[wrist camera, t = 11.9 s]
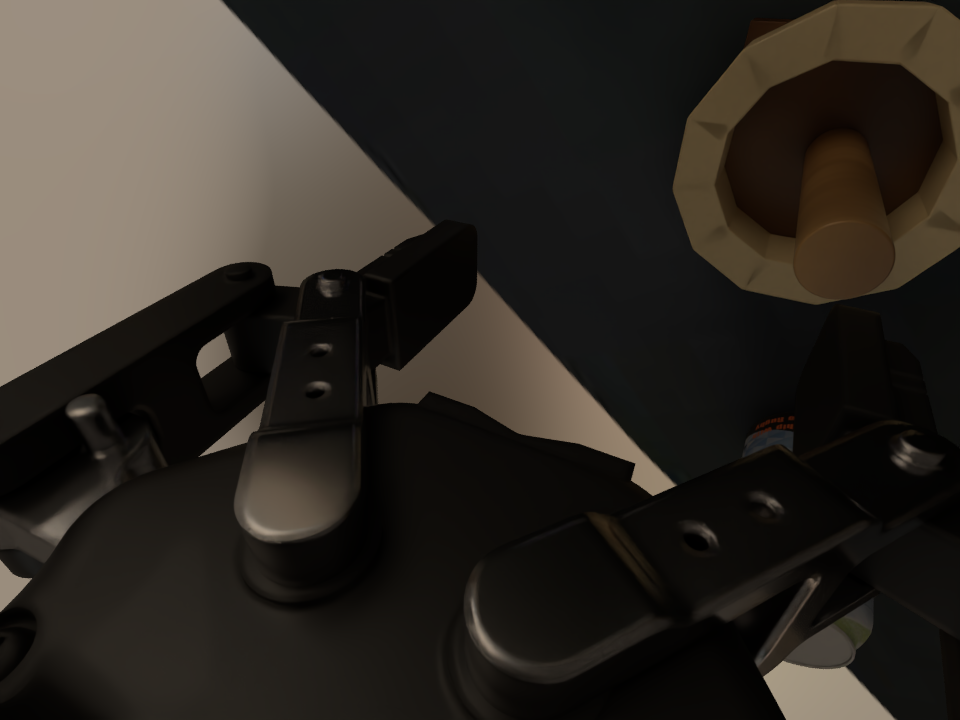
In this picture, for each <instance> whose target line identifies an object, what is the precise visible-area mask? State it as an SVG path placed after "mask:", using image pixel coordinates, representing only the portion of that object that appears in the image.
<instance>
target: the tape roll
mask: <svg viewBox="0 0 960 720" xmlns="http://www.w3.org/2000/svg"><path fill="white" fill-rule="evenodd" d="M833 60H834V61H851V62H867V63H884V64H900V65H901V66H903V67H904V68H905V69H907V70H908V71H909V72H910V73H912V74H913V75H914V76H915V77H917V78H918V79H919V80H920V81H922V82H923V83H924V84H925V85H927V86H928V87H929V88H930V89H932V90H933V91H934V92H935V94H936V100H937V106H938V112H939V118H940V124H941V130H942V136H943V142H942V144H941V146H940V148H939V150H938V152H937V154H936V156H935V158H934V160H933V162H932V164H931V166H930V168H929V170H928V172H927V174H926V177H925V179H924V181H923V183H922V185H921V187H920V189H919V191H918V192H917V193H916V194H915V195H913V196H912V197H911V198H910V199H908V200H907V201H906V202H904V203H903V204H902V205H900V206H899V207H898V208H897V209H895V210H894V211H893V212H891V213H890V214H889V215H887V220H888V224H889V228H890V231H891V235H892V239H893V243H894V247H895V254H896V255H895V263H894V266H893V268H892V271H891V272H890V274H889V276H888V277H887V278H886V279H885V281H883V282H882V283H881V284H880V285H879V286H878V287H876V288H875V289H873V290H872V291H870V292H868V293H866V294H864V295H868V294H873V293H878V292H883V291H888V290H893V289H897V288H899V287H901V286H902V285H904V284H905V283H907V282H908V281H910V280H911V279H913V278H914V277H916V276H917V275H919V274H920V273H922V272H923V271H925V270H926V269H928V268H929V267H931V266H932V265H934V264H935V263H937V262H938V261H940V260H941V259H943V258H944V257H946V256H947V255H949V254H950V253H952V252H953V251H955V250H956V249H958V248H959V247H960V20H959V19H958V18H957V17H955V16H954V15H953V14H951V13H950V12H949V11H948V10H946V9H945V8H944V7H942V6H939V5H935V4H932V3H928V2H914V1H871V0H837V1H832V2H830V3H828V4H826V5H824V6H822V7H820V8H818V9H816V10H814V11H812V12H810V13H807V14H805V15H803V16H801V17H799V18H797V19H795V20H793V21H791V22H789V23H787V24H785V25H783V26H781V27H779V28H777V29H775V30H773V31H771V32H769V33H767V34H765V35H763V36H761V37H759V38H757V39H755V40H753V41H752V42H751V43H750V44H749V45H747V46H746V47H745V48H744V49H743V50H742V51H741V53H740V54H739V55H738V56H737V58H736V59H735V60H734V61H733V63H732V64H731V65H730V66H729V67H728V69H727V70H726V71H725V72H724V74H723V75H722V76H721V77H720V78H719V80H718V81H717V82H716V83H715V85H714V86H713V87H712V88H711V89H710V91H709V92H708V93H707V94H706V96H705V97H704V98H703V99H702V101H701V102H700V103H699V104H698V105H697V107H696V108H695V109H694V110H693V112H692V113H691V114H690V115H689V117H688V119H687V123H686V127H685V132H684V136H683V141H682V146H681V150H680V155H679V160H678V164H677V169H676V174H675V178H674V183H673V193H674V196H675V199H676V202H677V204H678V207H679V210H680V213H681V216H682V219H683V222H684V225H685V228H686V230H687V233H688V236H689V239H690V242H691V245H692V248H693V249H694V250H695V251H696V252H697V253H698V254H699V255H701V256H702V257H703V258H704V259H706V260H707V261H708V262H709V263H710V264H712V265H713V266H714V267H715V268H717V269H718V270H719V271H720V272H721V273H723V274H724V275H725V276H726V277H728V278H729V279H730V280H731V281H732V282H734V283H735V284H736V285H737V286H739V287H740V288H741V289H742V290H743V289H744V290H747V291H752V292H756V293H761V294H766V295H771V296H775V297H780V298H785V299H790V300H794V301H799V302H804V303H809V304H814V305H818V304H823V303H828V302H833V301H838V300H834V299H826V298H822V297H819V296H817V295H814V294H812V293H810V292H809V291H807V290H806V289H805V288H804V287H803V286H802V285H801V284H800V283H799V282H798V280H797V278H796V276H795V273H794V269H793V259H794V249H795V240H796V238H791V237H785V236H779V235H773V234H770V233H769V232H767V231H766V230H765V229H764V228H763V227H761V226H760V225H759V224H758V223H756V222H755V221H754V220H753V219H751V218H750V217H749V216H748V215H747V214H745V213H744V212H743V211H742V210H740V209H739V208H738V207H737V206H736V202H735V199H734V196H733V193H732V189H731V186H730V183H729V179H728V176H727V173H726V170H725V162H726V158H727V154H728V151H729V147H730V143H731V139H732V135H733V132H734V128H735V126H736V125H737V124H738V122H739V121H740V120H741V119H742V118H743V117H744V116H745V115H746V114H747V112H748V111H749V110H750V109H751V108H752V107H753V106H754V105H755V103H756V102H757V101H758V100H759V99H760V98H761V97H762V96H763V95H764V93H765V92H766V91H767V90H768V89H769V88H771V87H773V86H775V85H777V84H780V83H782V82H784V81H787V80H789V79H791V78H794V77H796V76H798V75H800V74H803V73H805V72H807V71H810V70H812V69H814V68H817V67H819V66H821V65H824V64H826V63H828V62H830V61H833ZM861 296H863V295H861Z"/></svg>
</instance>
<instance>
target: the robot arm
mask: <svg viewBox="0 0 960 720" xmlns="http://www.w3.org/2000/svg"><path fill="white" fill-rule="evenodd" d="M476 285H477V231H476V228H475V227H474V226H473V225H470V224H465V223H460V222H456V221H451V220H444V221H442V222H441V223H439V224H438V225H436V226H435V227H433V228H432V229H430V230H429V231H427V232H426V233H424V234H422V235H419V236H416V237H413V238H410V239H407V240H405V241H404V242H402V243H400V244H399V245H398V246H396V247H395V248H394V249H391V250H390V251H388V252H387V253H385V254H384V256H380V257H379V258H377V259H376V260H374V261H373V262H371V263H370V264H368V265H367V266H365V267H364V268H362V269H361V270H359V271H358V272H354V271H351V270H345V269H332V270H325V271H321V272H318V273H315V274H312V275H311V276H309V277H307V278H306V279H305V280H303V282H302V283H301V285H300V287H287V286H275V284H274V279H273V275H272V271H271V269H270V267H268V266H267V265H264V264H261V263H256V262H241V263H235V264H230V265H227V266H224V267H221V268H219V269H217V270H215V271H213V272H211V273H209V274H207V275H205V276H204V277H202V278H200V279H198V280H196V281H195V282H193V283H191V284H189V285H187V286H185V287H183V288H182V289H180V290H178V291H176V292H174V293H172V294H170V295H169V296H167V297H165V298H163V299H161V300H159V301H158V302H156V303H154V304H152V305H150V306H148V307H146V308H145V309H143V310H141V311H139V312H137V313H135V314H134V315H132V316H130V317H128V318H126V319H124V320H122V321H121V322H119V323H117V324H115V325H113V326H112V327H110V328H108V329H106V330H104V331H102V332H100V333H98V334H97V335H95V336H93V337H91V338H89V339H87V340H86V341H84V342H82V343H80V344H78V345H76V346H75V347H73V348H71V349H69V350H67V351H66V352H63V353H62V354H60V355H58V356H56V357H54V358H52V359H51V360H49V361H47V362H45V363H43V364H41V365H39V366H38V367H36V368H34V369H32V370H30V371H29V372H27V373H25V374H23V375H21V376H19V377H17V378H16V379H14V380H12V381H10V382H8V383H7V384H5V385H3V386H1V387H0V560H1V561H2V562H3V563H4V564H5V565H6V566H7V568H8V569H9V570H10V571H11V572H12V573H13V574H14V575H16V576H18V577H22V578H32V580H31V581H30V582H29V583H28V584H27V585H26V586H25V588H24V589H23V590H22V591H21V592H20V593H19V594H18V595H17V596H16V597H15V598H14V599H13V600H12V601H11V602H10V603H9V604H8V605H7V606H6V607H5V608H4V609H3V610H2V611H1V612H0V720H786V719H785V717H784V715H783V713H782V711H781V710H780V708H779V706H778V704H777V702H776V700H775V699H774V697H773V695H772V693H771V691H770V689H769V687H768V685H767V684H766V682H765V680H764V678H763V676H765V675H766V674H767V673H769V672H770V671H771V670H773V669H774V668H775V667H776V666H777V665H778V664H780V663H781V662H782V661H783V660H784V659H785V658H786V657H787V656H788V655H789V654H790V653H791V652H792V651H793V650H794V649H796V648H797V647H798V646H799V645H800V644H802V643H803V642H804V641H806V640H807V639H809V638H810V637H812V636H813V635H815V634H817V633H818V632H820V631H821V630H823V629H825V628H826V627H828V626H829V625H831V624H832V623H834V622H836V621H837V620H839V619H840V618H842V617H844V616H845V615H847V614H848V613H850V612H852V611H853V610H855V609H856V608H858V607H859V606H861V605H863V604H864V603H866V602H867V601H869V600H871V599H872V598H874V597H875V596H877V595H878V594H880V593H881V592H882V593H884V594H885V595H887V596H888V597H890V598H892V599H893V600H895V601H896V602H898V603H900V604H901V605H903V606H905V607H906V608H908V609H909V610H911V611H913V612H914V613H916V614H917V615H919V616H921V617H922V618H924V619H925V620H927V621H929V622H930V623H932V624H934V625H935V626H937V627H938V628H939V634H940V644H941V654H942V664H943V674H944V683H945V693H946V703H947V713H948V720H960V448H958V447H957V446H956V445H955V444H953V443H952V442H950V441H949V440H947V439H946V438H944V437H942V436H941V435H939V434H938V433H937V429H936V425H935V421H934V417H933V413H932V409H931V406H930V402H929V398H928V395H926V393H927V390H926V386H925V382H924V381H923V374H922V370H921V366H920V362H919V361H918V360H917V359H916V357H915V356H914V355H913V354H912V353H911V352H910V351H909V350H908V349H907V348H906V347H905V346H904V345H903V344H901V343H896V342H892V341H887V340H884V334H883V328H882V322H881V317H880V314H879V313H877V312H872V311H868V310H863V309H858V308H854V307H849V306H844V305H840V304H835V305H834V306H833V308H832V309H831V311H830V313H829V315H828V317H827V319H826V321H825V323H824V325H823V327H822V330H821V332H820V334H819V336H818V338H817V340H816V343H815V345H814V347H813V349H812V351H811V353H810V355H809V358H808V360H807V362H806V364H805V366H804V369H803V371H802V374H801V376H800V379H799V383H798V386H797V391H796V400H795V417H794V435H793V452H792V451H790V450H789V449H788V448H787V447H785V446H784V445H782V444H775V445H771V446H769V447H766V448H764V449H762V450H759V451H757V452H755V453H752V454H750V455H748V456H745V457H743V458H741V459H738V460H736V461H734V462H731V463H729V464H727V465H724V466H722V467H720V468H717V469H715V470H713V471H710V472H708V473H706V474H703V475H701V476H699V477H696V478H694V479H692V480H689V481H687V482H685V483H682V484H680V485H678V486H675V487H673V488H671V489H668V490H666V491H663V492H662V493H659V494H657V495H654V496H652V495H651V494H649V493H648V492H647V491H645V490H644V489H643V488H641V487H640V486H638V485H637V484H635V483H634V482H632V481H631V478H632V474H633V471H634V467H635V463H632V462H629V461H626V460H623V459H620V458H617V457H615V456H612V455H609V454H606V453H604V452H601V451H598V450H594V449H592V448H589V447H586V446H584V445H581V444H576V443H570V442H564V441H558V440H551V439H545V438H539V437H532V436H526V435H521V434H518V433H516V432H514V431H512V430H511V429H509V428H507V427H506V426H504V425H503V424H501V423H499V422H497V421H496V420H494V419H493V418H491V417H489V416H488V415H486V414H484V413H483V412H481V411H480V410H478V409H477V408H475V407H472V406H470V405H466V404H464V403H461V402H458V401H455V400H452V399H450V398H447V397H444V396H441V395H438V394H435V393H432V392H428V394H427V395H426V396H425V397H424V398H423V399H422V400H421V401H420V402H419V403H418V404H414V403H387V404H378V392H377V391H378V390H377V375H376V367H377V366H378V365H379V364H382V365H384V366H388V367H390V368H393V369H396V370H399V371H400V370H401V369H402V368H403V367H404V366H405V365H406V364H407V363H408V362H409V361H410V360H411V359H412V358H413V357H414V356H416V355H417V354H418V353H419V352H420V351H421V350H422V349H423V348H424V347H425V346H426V345H427V344H428V343H429V342H430V341H431V340H432V339H433V338H434V337H436V336H437V335H438V334H439V333H440V332H441V331H442V330H443V329H444V328H445V327H446V326H447V325H448V324H449V323H450V322H451V321H452V320H453V319H454V318H455V317H456V316H457V315H458V314H460V313H461V312H462V311H463V310H464V309H465V308H466V307H467V306H468V305H469V304H470V302H471V301H472V299H473V297H474V294H475V290H476ZM222 333H224V334H225V337H226V340H227V343H228V346H229V349H230V352H231V357H230V358H229V359H227V360H226V361H225V362H223V363H222V364H220V365H219V366H218V367H216V368H215V369H213V370H212V371H211V372H209V373H208V374H206V375H205V376H204V377H202V378H201V377H200V375H199V372H198V370H197V366H196V359H197V356H198V353H199V351H200V350H201V348H202V347H203V346H204V345H206V344H207V343H208V342H210V341H211V340H213V339H215V338H216V337H217V336H219V335H221V334H222ZM263 401H265V405H264V409H263V414H262V419H261V423H260V427H259V429H258V431H256V432H253V433H252V434H251V435H250V437H249V440H248V442H247V443H244V444H241V445H237V446H234V447H230V448H228V449H224V450H220V451H217V452H214V453H210V454H208V455H204V456H200V455H201V454H202V453H204V452H205V451H206V450H207V449H208V448H209V447H211V446H212V445H213V444H214V443H215V442H216V441H218V440H219V439H220V438H221V437H222V436H224V435H225V434H226V433H227V432H228V431H229V430H231V429H232V428H233V427H234V426H235V425H236V424H237V423H239V422H240V421H241V420H242V419H243V418H245V417H246V416H247V415H248V414H249V413H251V412H252V411H253V410H254V409H255V408H256V407H258V406H259V405H260V404H261V403H262V402H263ZM199 456H200V457H199Z"/></svg>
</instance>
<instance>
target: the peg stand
mask: <svg viewBox="0 0 960 720" xmlns="http://www.w3.org/2000/svg"><path fill="white" fill-rule="evenodd" d="M791 21H793V20H792V19H770V18H754V19H753V20H751V22H750V26H749V30H748V34H747V37H746V41H745V45H744V48H745V47H746V46H747V45H749V44H750V43H751V42H752V41H753V40H755V39H757V38H759V37H761V36H763V35H765V34H767V33H769V32H771V31H773V30H775V29H777V28H779V27H781V26H783V25H785V24H787V23H789V22H791ZM942 142H943V136H942V130H941V124H940V118H939V112H938V106H937V100H936V94H935V92H934V91H933V90H932V89H930V88H929V87H928V86H927V85H925V84H924V83H923V82H922V81H920V80H919V79H918V78H917V77H915V76H914V75H913V74H912V73H910V72H909V71H908V70H907V69H905V68H904V67H903V66H901V65H900V64H884V63H867V62H851V61H834V60H833V61H830V62H828V63H826V64H824V65H821V66H819V67H817V68H814V69H812V70H810V71H807V72H805V73H803V74H800V75H798V76H796V77H794V78H791V79H789V80H787V81H784V82H782V83H780V84H777V85H775V86H773V87H771V88H769V89H768V90H767V91H766V92H765V93H764V95H763V96H762V97H761V98H760V99H759V100H758V101H757V102H756V103H755V105H754V106H753V107H752V108H751V109H750V110H749V111H748V112H747V114H746V115H745V116H744V117H743V118H742V119H741V120H740V121H739V122H738V124H737V125H736V126H735V128H734V132H733V135H732V139H731V143H730V147H729V151H728V154H727V158H726V162H725V170H726V173H727V176H728V179H729V183H730V186H731V189H732V193H733V196H734V199H735V202H736V206H737V207H738V208H739V209H740V210H742V211H743V212H744V213H745V214H747V215H748V216H749V217H750V218H751V219H753V220H754V221H755V222H756V223H758V224H759V225H760V226H761V227H763V228H764V229H765V230H766V231H767V232H769V233H770V234H773V235H779V236H785V237H791V238H796V240H795V249H794V259H793V269H794V273H795V276H796V278H797V280H798V282H799V283H800V284H801V285H802V286H803V287H804V288H805V289H806V290H807V291H809V292H810V293H812V294H814V295H817V296H819V297H822V298H826V299H834V300H844V299H851V298H855V297H859V296H861V295H864V294H866V293H868V292H870V291H872V290H873V289H875V288H876V287H878V286H879V285H880V284H881V283H882V282H883V281H885V279H886V278H887V277H888V276H889V274H890V272H891V271H892V268H893V266H894V263H895V255H896V254H895V247H894V243H893V239H892V235H891V231H890V228H889V224H888V220H887V215H889V214H890V213H891V212H893V211H894V210H895V209H897V208H898V207H899V206H900V205H902V204H903V203H904V202H906V201H907V200H908V199H910V198H911V197H912V196H913V195H915V194H916V193H917V192H918V191H919V189H920V187H921V185H922V183H923V181H924V179H925V177H926V174H927V172H928V170H929V168H930V166H931V164H932V162H933V160H934V158H935V156H936V154H937V152H938V150H939V148H940V146H941V144H942ZM913 279H914V278H913ZM913 279H911V280H913Z"/></svg>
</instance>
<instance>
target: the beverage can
mask: <svg viewBox="0 0 960 720" xmlns="http://www.w3.org/2000/svg"><path fill="white" fill-rule="evenodd" d="M794 417H795V411H791V412H783V413H778V414H774V415H770V416H768V417H765V418H763V419H761V420H760V421H758V422H757V423H755V424H754V425H753V426H752V427H751V429H750V430H749V432H748V434H747V437H746V441H745V446H744V450H743V455H742V458H743V457H745V456H748V455H750V454H752V453H755V452H757V451H759V450H762V449H764V448H766V447H769V446H771V445H775V444H782V445H784V446H785V447H787V448H788V449H789V450H790V451H792V452H793V435H794ZM872 627H873V598H872V599H871V600H869V601H867V602H866V603H864V604H863V605H861V606H859V607H858V608H856V609H855V610H853V611H852V612H850V613H848V614H847V615H845V616H844V617H842V618H840V619H839V620H837V621H836V622H834V623H832V624H831V625H829V626H828V627H826V628H825V629H823V630H821V631H820V632H818V633H817V634H815V635H813V636H812V637H810V638H809V639H807V640H806V641H804V642H803V643H802V644H800V645H799V646H798V647H797V648H796V649H794V650H793V651H792V652H791V653H790V654H789V655H788V656H787V657H786V658H785V659H784V660H783V661H786V662H789V663H792V664H796V665H800V666H805V667H810V668H819V669H834V668H841V667H844V666H847V665H848V664H850V663H851V662H852V661H853V660H854V658H855V653H856V649H857V648H859V647H860V646H861V645H862V644H863V643H864V642H865V641H866V640H867V638H868V637H869V636H870V634H871V631H872Z"/></svg>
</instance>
